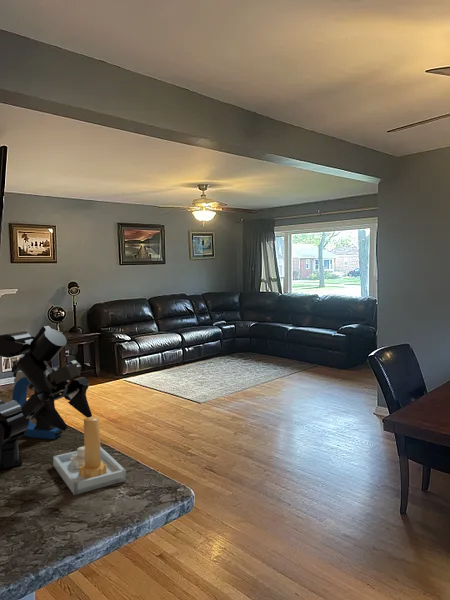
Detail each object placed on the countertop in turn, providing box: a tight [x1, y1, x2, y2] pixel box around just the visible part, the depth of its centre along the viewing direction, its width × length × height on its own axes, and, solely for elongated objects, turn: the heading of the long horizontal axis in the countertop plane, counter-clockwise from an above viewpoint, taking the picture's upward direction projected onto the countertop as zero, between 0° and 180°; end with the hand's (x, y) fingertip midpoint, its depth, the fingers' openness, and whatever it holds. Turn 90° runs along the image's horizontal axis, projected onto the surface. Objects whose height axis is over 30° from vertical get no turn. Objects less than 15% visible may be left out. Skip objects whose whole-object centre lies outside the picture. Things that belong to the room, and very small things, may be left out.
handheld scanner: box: [11, 371, 63, 440], centre depth 136 cm, size 5×16×20 cm, turn 79°
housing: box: [52, 445, 127, 496], centre depth 111 cm, size 18×12×5 cm, turn 34°
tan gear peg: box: [79, 416, 107, 479], centre depth 108 cm, size 6×6×13 cm
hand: (79, 423), depth 109 cm, fingers open, 9 cm apart
